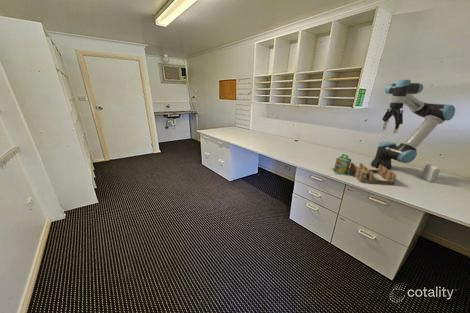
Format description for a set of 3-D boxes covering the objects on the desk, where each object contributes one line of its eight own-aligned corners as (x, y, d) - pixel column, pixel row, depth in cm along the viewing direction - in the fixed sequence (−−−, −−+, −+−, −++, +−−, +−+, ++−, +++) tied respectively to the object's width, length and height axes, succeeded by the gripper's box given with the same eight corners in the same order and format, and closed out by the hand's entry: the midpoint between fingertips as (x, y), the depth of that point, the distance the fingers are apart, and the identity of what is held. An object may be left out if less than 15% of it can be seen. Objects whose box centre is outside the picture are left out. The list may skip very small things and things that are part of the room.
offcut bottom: (357, 176, 150) (358, 172, 149) (361, 176, 149) (362, 172, 148) (361, 180, 143) (362, 176, 142) (366, 180, 143) (367, 176, 142)
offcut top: (359, 172, 148) (360, 169, 147) (363, 173, 148) (364, 169, 147) (361, 175, 143) (362, 172, 142) (366, 176, 142) (367, 172, 141)
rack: (348, 170, 160) (350, 162, 157) (377, 172, 157) (380, 164, 154) (360, 182, 140) (362, 172, 137) (393, 184, 136) (397, 175, 134)
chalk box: (333, 170, 158) (336, 154, 153) (337, 168, 164) (340, 152, 159) (345, 174, 152) (349, 157, 147) (348, 171, 157) (352, 155, 152)
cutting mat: (331, 168, 164) (331, 168, 164) (345, 169, 162) (345, 169, 162) (336, 174, 153) (336, 173, 153) (351, 175, 151) (351, 174, 151)
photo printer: (419, 176, 150) (425, 162, 146) (426, 177, 149) (431, 163, 145) (429, 182, 141) (435, 167, 137) (436, 183, 140) (442, 168, 136)
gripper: (381, 101, 146) (374, 127, 153) (403, 103, 123) (393, 134, 130) (392, 101, 145) (384, 128, 152) (415, 103, 122) (405, 135, 129)
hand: (388, 131), depth 141 cm, fingers open, 13 cm apart
